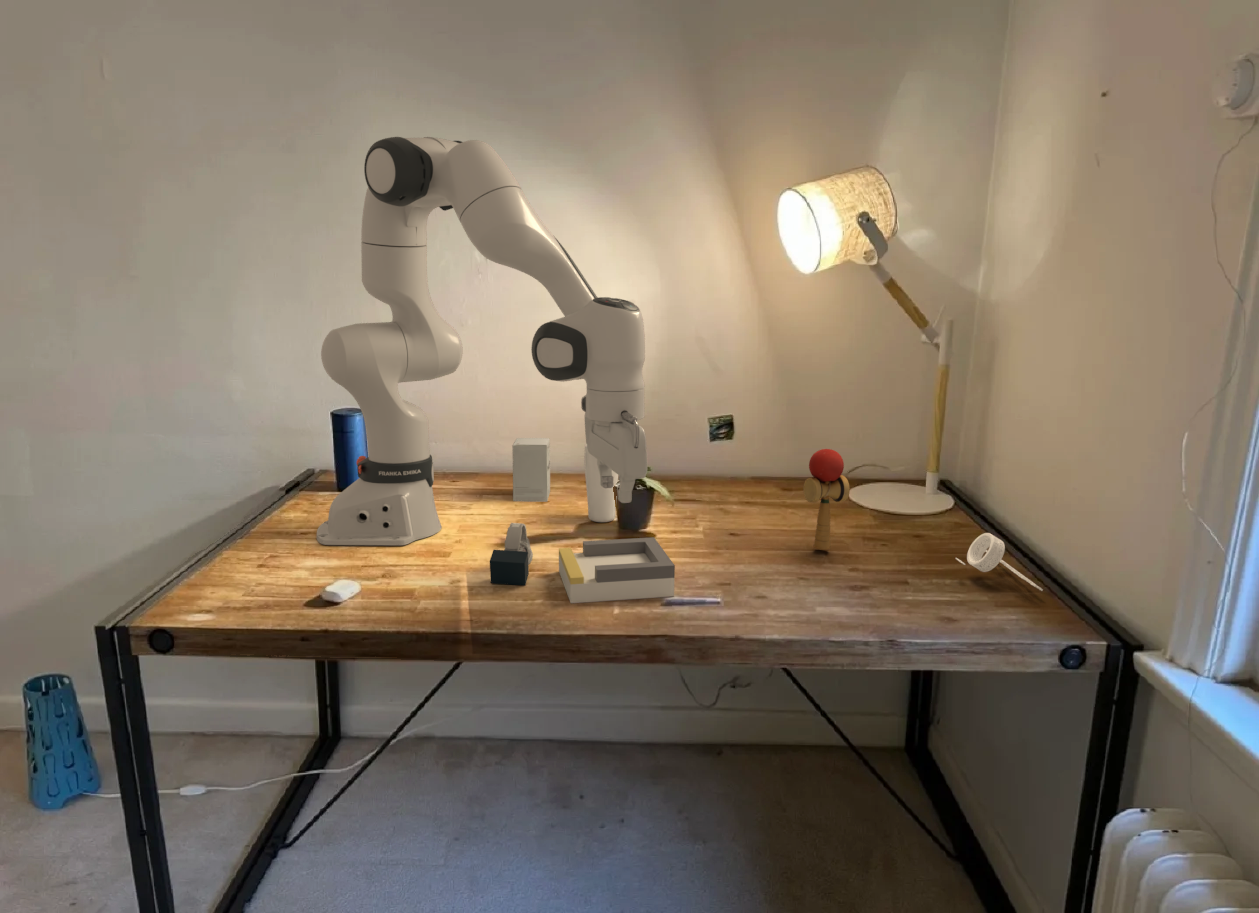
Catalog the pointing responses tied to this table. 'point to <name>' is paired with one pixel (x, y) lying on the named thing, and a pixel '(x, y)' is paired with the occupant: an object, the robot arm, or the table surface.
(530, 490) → the supplement box
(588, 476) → the white vase
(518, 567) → the watch
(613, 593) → the dock
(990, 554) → the wheel on axle
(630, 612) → the table surface
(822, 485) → the kendama
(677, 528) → the table surface
